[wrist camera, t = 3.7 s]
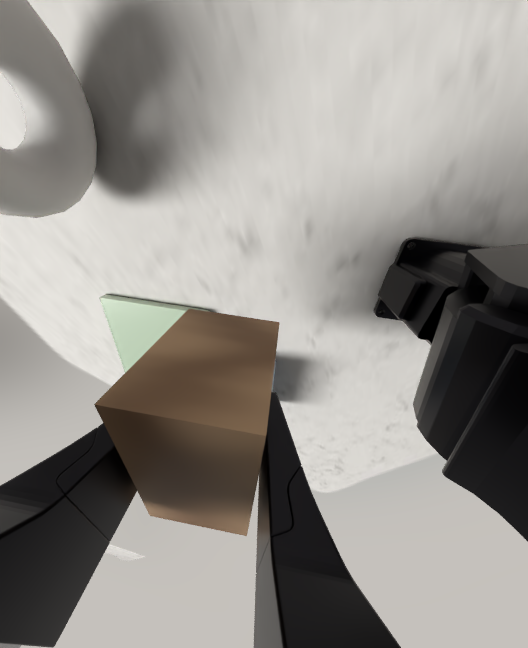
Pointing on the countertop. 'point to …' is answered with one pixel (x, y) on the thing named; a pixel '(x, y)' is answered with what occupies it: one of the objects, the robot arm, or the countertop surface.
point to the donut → (43, 120)
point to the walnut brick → (197, 418)
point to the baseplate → (138, 324)
